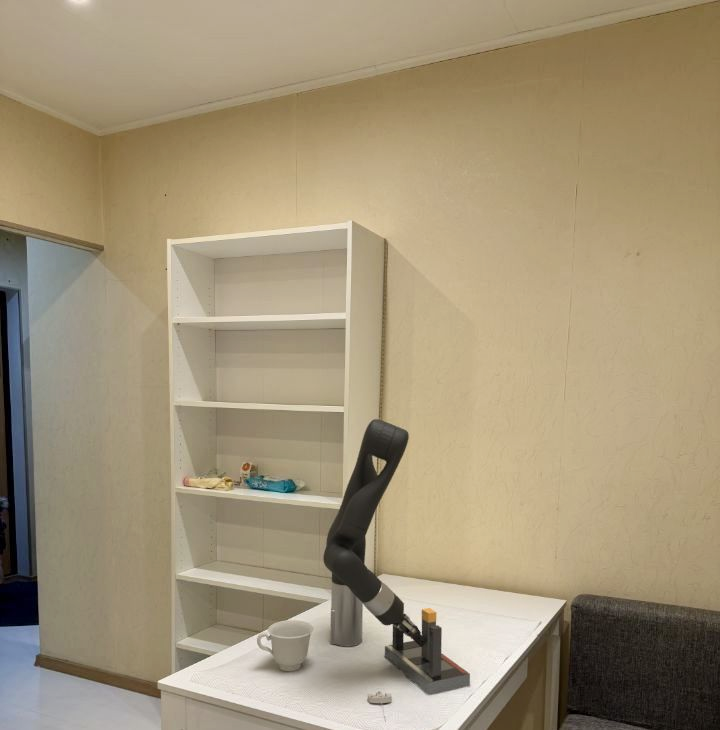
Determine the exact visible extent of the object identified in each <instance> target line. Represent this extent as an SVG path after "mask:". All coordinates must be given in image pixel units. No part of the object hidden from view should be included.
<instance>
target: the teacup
mask: <svg viewBox="0 0 720 730" xmlns="http://www.w3.org/2000/svg"><path fill="white" fill-rule="evenodd" d="M313 631H314V627H313V626H312V625H311V624H310V623H309V622H307V621H303V620H295V619H290V620H289V619H287V620H282V621H281V620H280V621H277V622H274V623H273V624H271V625H269V627H268V628H267V632H266V631H261V632H260V633H259V634H258V635H257V638H256V642H257V647H259V648H260V649H261V650H262V651H265V652H269V653H270V654H271V655H272V657H273V659H274V661H275V662H276V663H277V664H278V665H279V666H278V668H279V669H280V670H281V671H284V672H295V671H298V670H300V669H301V667H302V666H301V665H302V664H301V663H303V662H305V660H306V659H307V658H308V657H307V656H308V653H309V647H310V639H311V634H312V633H313ZM268 633H269V634H268ZM264 637H265V639H266V640H267V642H270V641H271V648H270V647H269V646H268V647H267V646H265V645H263V644H262V642H261V639H263V638H264Z"/></svg>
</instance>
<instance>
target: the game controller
mask: <svg viewBox="0 0 720 730" xmlns="http://www.w3.org/2000/svg"><path fill="white" fill-rule="evenodd" d="M367 701H368V702H369V704H381V706H382V708H384V705H383V704H387V703H388V704H389V703H391V702H392V693H389V692H388V693H382V692H381V691H380V690H378V691H377V692H376V693H375V694H373V693H372V694H371V693H368V694H367ZM382 713H384V714H385V711H384V710H382ZM383 717H384V720H385V722H386V715H383Z"/></svg>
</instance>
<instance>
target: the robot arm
mask: <svg viewBox="0 0 720 730" xmlns="http://www.w3.org/2000/svg"><path fill="white" fill-rule="evenodd" d="M409 436H410V435H409V431H407V430H406V429H404V428H401V427H399V426H397V425H394V424H393V423H390V422H387V421H385V420H381V419H378V418H375V419H372V420H371V421H370V422H369V423H368V424H367V427H366V428H365V430H364V434H363V437H362V439H361V440H362V441H361V444H360V448H359V452H358V456H357V459H356V462H355V465H354V468H353V471H352V474H351V476H350V478H349V481H348V483H347V486H346V489H345V491H344V495H343V499H342V502H341V504H340V506H339V509H338V512H337V514H336V516H335V518H334V520H333V521H332V524H331V526H330V528H329V530H328V532H327V536H326V547H325V550H324V551H323V552H324V553H323V564H324V566H325V568H326V569H328V570H329V571H330V572H331V599H330V600H331V601H330V602H331V605H330V631H329V633H330V637H329V638H330V639H329V643H330V644H331V645H336V646H340V647H353V646H357V645H360V644H361V643H362V642H363V617H364V616H363V608H364V607H365V608H366V609H367V610H368V612H370V613H371V614H372V616H374V617H375V618H376V619H377V620H378V621H379V622H380V623H381V625H383V626H393V625H394V626H395V627H397V628H398V629H399V630H400V631H401V632H403V633H404V635H405V636H406V637H409V638H410V639H411V640H412V641H415V642H416V643H417V644H418V645H419V646H420V647H423V645H424V644H425V643H426V639H425V638H424V637H423V636H422V631H421V630H420V629H419V627H418V626H417V625H416V624H415V623H414V622H413V621H412V620H411V618H410V616H408V614H406V613H405V612H404V613H403V610H404V611H405V603H404V602H403V600H402V599H401V598H400V597H399V596H398V595H396V593H395V592H394V591H393V590H392V589H391V588H390V587H389V586H388V585H387V584H386V583H384V582H383V581H381V580H380V579H379V577H377V575H375V573H374V572H373V571H372V570H370V568H368V567H367V566H366V564H365V562H366V561H365V560H366V547H367V546H366V545H367V542H366V535H367V533H368V530H369V528H370V525H371V523H372V520H373V517H374V515H375V514H376V510H377V508H378V506H379V504H380V501H381V500H382V498H383V496H384V494H385V492H386V490H387V489H388V486H389V485H390V483H391V481H392V478H394V475H395V473H396V470H397V469H398V467H399V464H400V463H401V460H402V458H403V456H404V454H405V451H406V449H407V446H408V443H409V438H410V437H409ZM373 457H374V458H377V459H380V460H381V461H385V465H384V466H383V468H382V470H381V471H380V472H379V474H378V473H377V471H376V468H375V465H374V460H373ZM403 603H404V604H403ZM363 606H364V607H363Z"/></svg>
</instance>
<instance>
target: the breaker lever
mask: <svg viewBox="0 0 720 730" xmlns="http://www.w3.org/2000/svg"><path fill="white" fill-rule="evenodd" d="M436 625H437V611H435V610H433V609H432V608H431V607H428V608H422V609H421V635H422V636H423V637H424V638H425V639H426V643H425V644H424V645H423V647H422V649H421V656H423V657H424V658H425V659H427V660H429V627H430V626H436Z"/></svg>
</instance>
